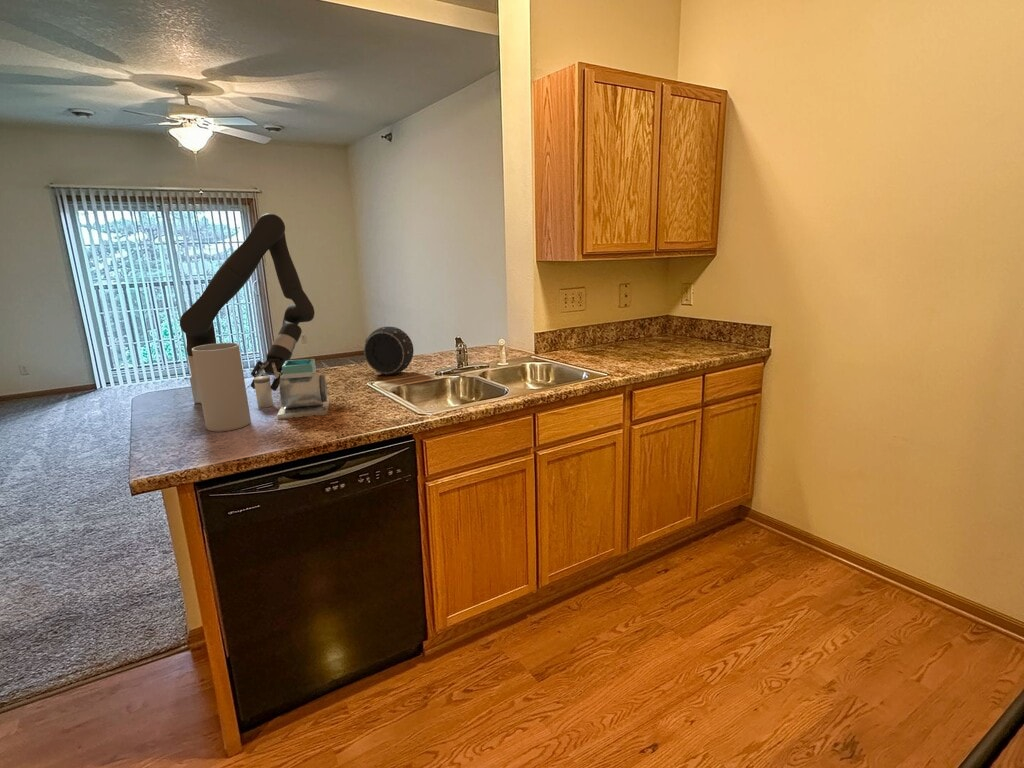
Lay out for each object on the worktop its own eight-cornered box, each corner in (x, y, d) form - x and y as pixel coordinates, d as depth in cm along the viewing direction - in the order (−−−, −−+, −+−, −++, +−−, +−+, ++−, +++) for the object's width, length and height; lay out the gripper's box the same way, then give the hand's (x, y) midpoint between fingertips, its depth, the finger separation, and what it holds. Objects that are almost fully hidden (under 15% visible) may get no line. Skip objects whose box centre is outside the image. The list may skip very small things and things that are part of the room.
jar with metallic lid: (256, 408, 186) (252, 379, 184) (259, 404, 191) (255, 376, 188) (272, 406, 187) (268, 378, 185) (274, 402, 192) (270, 375, 190)
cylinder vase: (235, 417, 177) (222, 341, 171) (259, 422, 171) (247, 344, 164) (197, 428, 167) (182, 348, 160) (222, 435, 160) (207, 352, 154)
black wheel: (408, 377, 222) (404, 329, 217) (363, 376, 226) (358, 328, 221) (417, 371, 232) (414, 325, 227) (374, 370, 236) (370, 324, 231)
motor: (277, 419, 174) (270, 369, 169) (284, 406, 187) (277, 359, 183) (326, 414, 177) (320, 365, 173) (329, 402, 190) (324, 356, 186)
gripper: (259, 343, 194) (239, 382, 187) (292, 344, 189) (272, 384, 182) (272, 354, 200) (253, 392, 193) (304, 356, 195) (286, 395, 188)
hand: (263, 388), depth 187 cm, fingers open, 8 cm apart
